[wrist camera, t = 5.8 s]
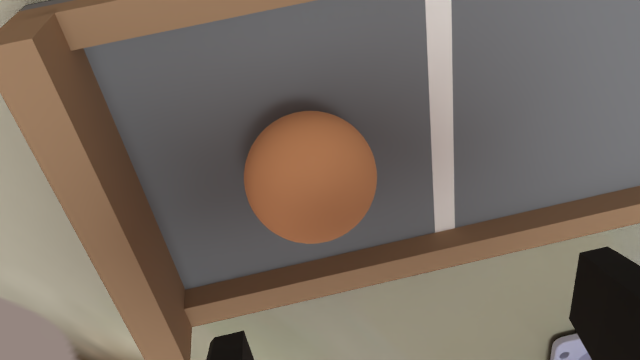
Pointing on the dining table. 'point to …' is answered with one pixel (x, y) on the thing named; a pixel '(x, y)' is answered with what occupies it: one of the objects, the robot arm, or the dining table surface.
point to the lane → (330, 97)
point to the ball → (310, 177)
